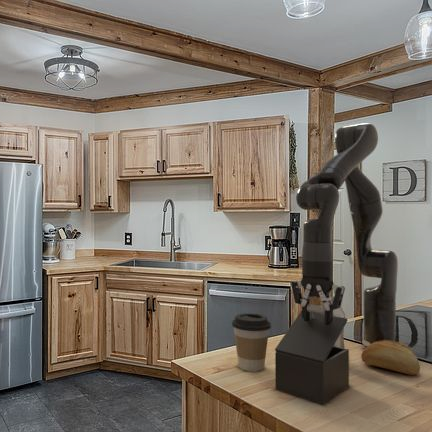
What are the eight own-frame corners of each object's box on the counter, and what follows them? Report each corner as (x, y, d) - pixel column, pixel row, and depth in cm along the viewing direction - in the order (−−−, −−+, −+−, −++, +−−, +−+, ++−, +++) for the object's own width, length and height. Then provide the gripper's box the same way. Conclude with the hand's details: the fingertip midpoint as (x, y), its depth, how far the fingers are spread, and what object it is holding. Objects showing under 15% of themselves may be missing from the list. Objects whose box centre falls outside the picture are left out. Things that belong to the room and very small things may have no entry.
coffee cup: (278, 366, 128) (277, 316, 128) (259, 377, 120) (259, 324, 120) (244, 357, 136) (243, 310, 136) (224, 367, 127) (224, 317, 127)
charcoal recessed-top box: (303, 373, 123) (303, 339, 123) (348, 386, 114) (348, 349, 113) (275, 389, 112) (275, 352, 112) (323, 405, 103) (323, 364, 103)
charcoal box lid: (301, 312, 122) (297, 297, 120) (347, 320, 113) (344, 304, 111) (275, 351, 112) (270, 335, 110) (323, 363, 103) (319, 346, 101)
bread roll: (365, 359, 134) (365, 333, 134) (422, 370, 124) (422, 342, 124) (358, 367, 126) (358, 340, 126) (417, 380, 117) (417, 351, 117)
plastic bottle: (348, 367, 127) (348, 300, 127) (324, 366, 128) (324, 299, 128) (343, 360, 133) (342, 295, 133) (319, 358, 134) (319, 295, 134)
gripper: (350, 259, 112) (350, 324, 112) (298, 255, 122) (298, 315, 122) (338, 262, 107) (338, 330, 107) (285, 257, 117) (284, 319, 117)
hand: (316, 322), depth 114 cm, fingers closed on charcoal box lid, 5 cm apart
